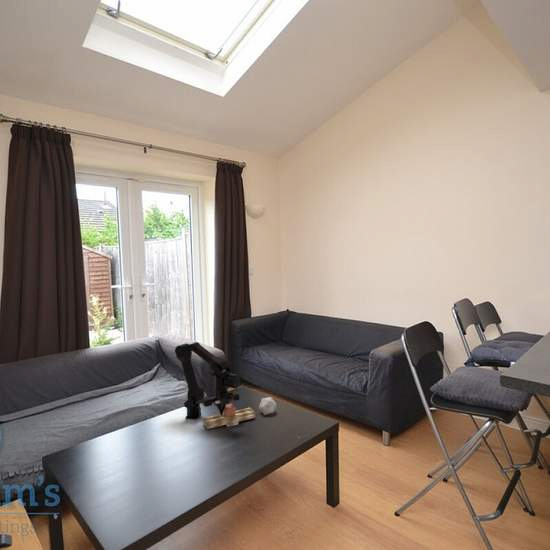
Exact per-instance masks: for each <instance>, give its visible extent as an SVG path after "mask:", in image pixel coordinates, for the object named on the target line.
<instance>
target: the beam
mask: <svg viewBox="0 0 550 550" xmlns="http://www.w3.org/2000/svg"><path fill="white" fill-rule="evenodd" d="M255 418H256V412H255V411H254V409H252V408H251V407H250V406H248V407H247V408H242V409H239V410H237V409H236V410H235V415H234V416H230V417H226V418H225V417H224V413H223V414H222V415H220V414H215V415H211V416H206V417H203V418H202V423H203V424H204V426H205V428H206V429H207V430H208V429H213V428H217V427H222V426H224V425H225V426H226V427H227V428H229V427H233V426H238V425H239V422H243V421H247V420H250V419H255Z"/></svg>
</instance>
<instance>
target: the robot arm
mask: <svg viewBox="0 0 550 550" xmlns="http://www.w3.org/2000/svg"><path fill="white" fill-rule="evenodd" d="M192 352H193V353H194V354H196V355H197V356H198V357H200V358H201V359H202V360H203V361H205V363H206V364H208V365H209V368H210V370H212V372H213V373H211V375H210V376H211V377H214V387H213V388H214V397H212V398H211V397H210V395H209V396H205V392H204V388H203V387H200V386H199V384H198V381H197V378H196V374H195V369H194V367H193V363H192V356H193V355H192V354H193V353H192ZM174 353H175V356H176V358H177V360H179V361H180V362H181V365H182V369H183V373H184V377H185V380H186V384H187V388H188V390H187V395H186V396H187V397H186V398H187V400H185V401H184V402H183V406H184V408H185V409H186V416H185V419H189V420H198V419H199V418H200V416H201V415H202V407H201V404H202V405H203V407H206V408H207V407H212V405H213V404H214V406H215V407H217V410H218V413H219V415H222V414H224V408H225V406H226V405H228V404H231V401H234V402H235V401H240V400H241V396H240V394H239V393H238V392H237V391H236V390H237V389H239V387H240V384H241V379H240V377H239V374H236V373H233V371H232V369H231V367H230V366H229V364H228V361H227V360H225V359H223V358H222V357H219V356H215V355H214V354H213V353H211V352H210V351H209V350H208V349H206V348H205V347H204V346H202V344H200V342H197V341H194V342H192V343H187V342H186V343H183V344H179V345H176V347H175V349H174ZM228 388H231V389H235V391H230V392H228Z"/></svg>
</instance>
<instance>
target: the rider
mask: <svg viewBox="0 0 550 550" xmlns="http://www.w3.org/2000/svg"><path fill="white" fill-rule="evenodd" d="M235 411H237V407H236V406H235V405H234V404H233V403H229V404H227V405H226V406H225V408H224V411H223V414H224V417H225V418H226V417H230V416H234V415H235Z"/></svg>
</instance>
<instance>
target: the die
mask: <svg viewBox="0 0 550 550" xmlns="http://www.w3.org/2000/svg"><path fill="white" fill-rule="evenodd" d="M276 407H277V403H276V402H275V400H274V399H273V398H272V397H271V396H269V397H262V398H261V400H260V403H259V405H258V408H259V410H260V411H261V412H262V414H263V415H264V416H267V415H271V414H274V413H275V409H276Z"/></svg>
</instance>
